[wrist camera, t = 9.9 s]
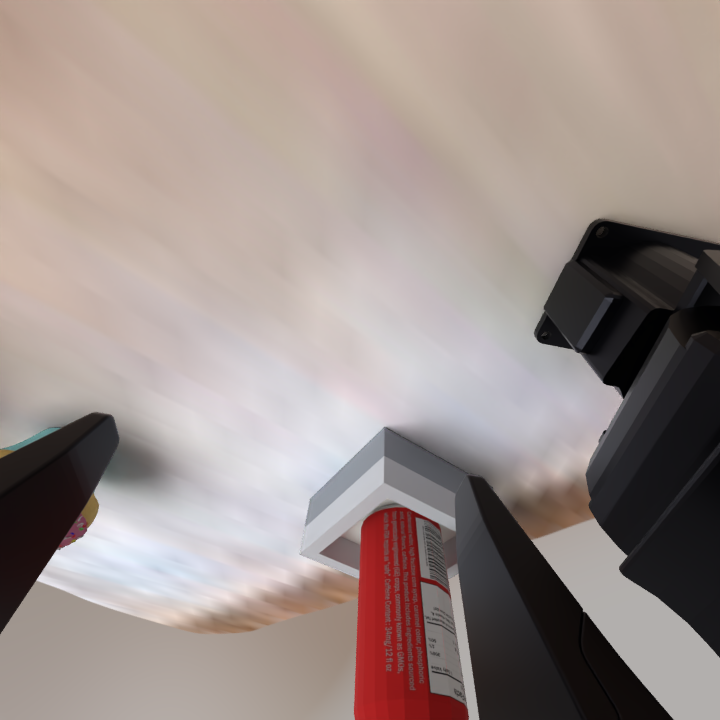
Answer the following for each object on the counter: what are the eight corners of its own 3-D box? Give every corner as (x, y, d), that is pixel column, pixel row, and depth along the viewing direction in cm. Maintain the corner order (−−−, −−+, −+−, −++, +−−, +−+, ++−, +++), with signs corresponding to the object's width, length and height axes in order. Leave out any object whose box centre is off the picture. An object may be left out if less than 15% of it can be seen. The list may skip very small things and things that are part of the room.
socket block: (384, 427, 25) (383, 482, 22) (492, 487, 28) (508, 545, 24) (310, 499, 30) (299, 554, 26) (408, 544, 33) (411, 600, 29)
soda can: (348, 531, 28) (332, 771, 18) (384, 491, 25) (389, 750, 15) (413, 552, 29) (432, 787, 19) (454, 515, 26) (502, 769, 16)
